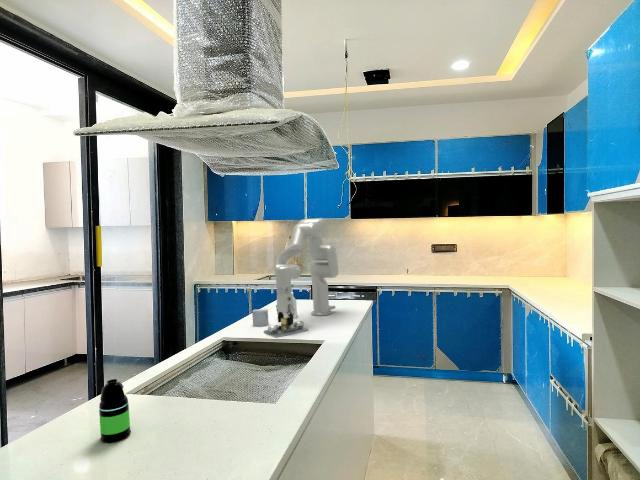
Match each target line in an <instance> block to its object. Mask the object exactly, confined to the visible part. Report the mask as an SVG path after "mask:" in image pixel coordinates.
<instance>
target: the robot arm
mask: <svg viewBox="0 0 640 480" xmlns="http://www.w3.org/2000/svg"><path fill="white" fill-rule="evenodd" d="M327 228H328V223H327V220H326V219H325V218H323V217H317V218H305V219H301V220H298V223H297V224H295V225H294V226H293V229H292V233H291V236H290V237H291V238H290V241H289V244H288V246H287V248H285V249H283V251H282V252H281V253H280V254H279V255H278V257H277V260H276V261H275V262H276V263H275V266H274V275H275V285H276V286H275V287H276V288H275V289H276V305H275V308H276V312H277V314H276V315H277V323H281V318H284V314H283V313H286V314H287V316H288V318H287V325H288V326H289V325H294V319H293V317H294V305H293V297H292V293H291V292H292V281H291V280H293V279H294V280H295V279H299V278H300V277H301V276H302V268H301V267H300V265H298V264H286V263H287V262H288V261H289V260H290V259H292V258H294V257H295V256H296V257H297V256H298V255H300V254H302V253H304V251H305V247H306V242H307V243H308V248H309V249H308V250H309V256H310V259H312V260H313V261H315V262H313V263H312V264H311V265H310V266H309V272H310V277H311V286H312V303H313V304H312V305H313V307H312V308H313V310H312V311H311V313H310V314H311V315H312V316H322V317H323V316H328V315H331V314H332V313H333V312H332V310H334V309H336V305H330V301H329V284H328V282H327V280H326V279H327V278H328V279H333V278H334V279H335V278H337V277H338V275H339V264H338V263H339V262H338V254H337V250H336V247H335V246H334V245H332V244H324V242H323V237H322V235H323V234H324V233H325V232H326V231H327ZM289 313H290V314H289Z"/></svg>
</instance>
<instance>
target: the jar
mask: <svg viewBox="0 0 640 480" xmlns="http://www.w3.org/2000/svg"><path fill="white" fill-rule="evenodd" d="M291 293H292V297H293V305H294V317H293V320H294V319H297V318H298V309H297V298H295V297H294V292H293V291H291ZM283 314H284V317H288V316H287V314H286V313H283ZM289 314H290V313H289Z"/></svg>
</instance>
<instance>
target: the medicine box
mask: <svg viewBox="0 0 640 480" xmlns="http://www.w3.org/2000/svg"><path fill="white" fill-rule="evenodd" d="M251 313H252V326H253V327H268V325H269V324H270V323H269V310H268V308H267V309H266V308H264V309H262V308H261V309H259V308H258V309H253V310H252V312H251Z"/></svg>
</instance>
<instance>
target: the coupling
mask: <svg viewBox="0 0 640 480" xmlns="http://www.w3.org/2000/svg"><path fill="white" fill-rule="evenodd" d="M287 318H288V317H284V318H281V322H280V326H281V330H282V331H284V330H285V329H290V328H291V325H289V326H288V325H287Z"/></svg>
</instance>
